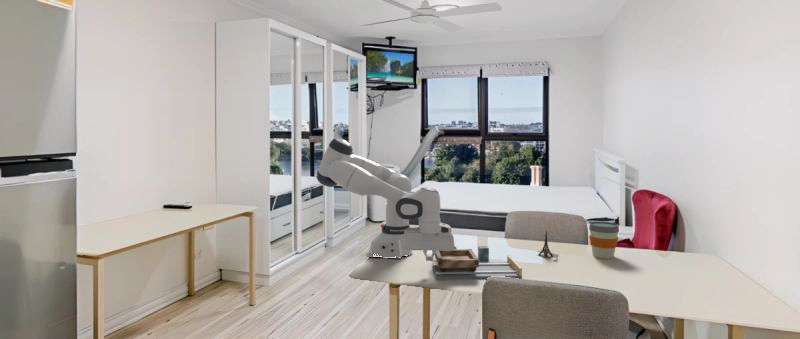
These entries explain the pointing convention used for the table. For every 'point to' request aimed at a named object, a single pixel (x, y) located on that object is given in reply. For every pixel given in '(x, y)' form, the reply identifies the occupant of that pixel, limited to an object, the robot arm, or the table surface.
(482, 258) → the slate block
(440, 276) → the track
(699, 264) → the table surface
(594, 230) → the reusable coffee cup
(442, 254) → the shallow wooden tray
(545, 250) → the eiffel tower figurine
